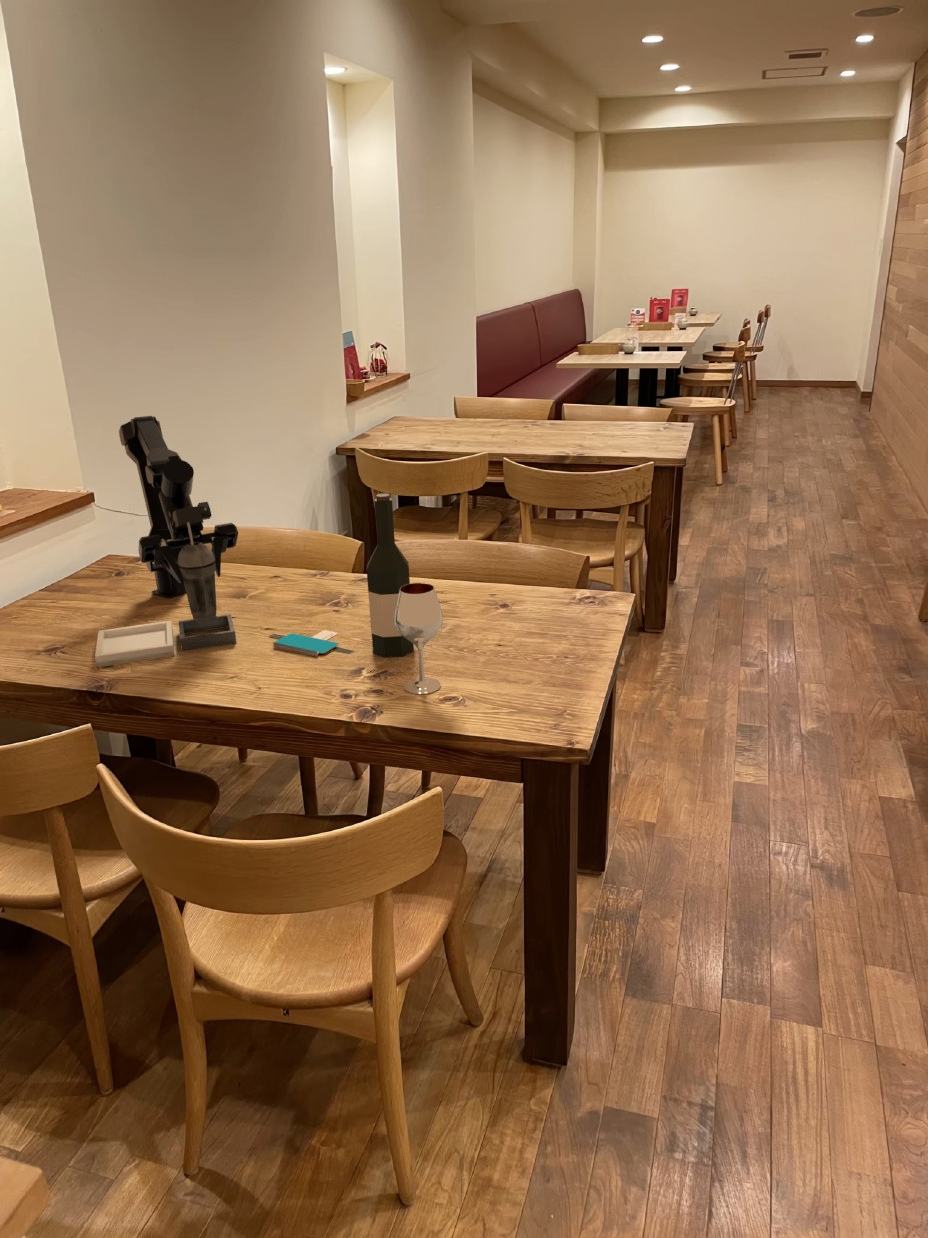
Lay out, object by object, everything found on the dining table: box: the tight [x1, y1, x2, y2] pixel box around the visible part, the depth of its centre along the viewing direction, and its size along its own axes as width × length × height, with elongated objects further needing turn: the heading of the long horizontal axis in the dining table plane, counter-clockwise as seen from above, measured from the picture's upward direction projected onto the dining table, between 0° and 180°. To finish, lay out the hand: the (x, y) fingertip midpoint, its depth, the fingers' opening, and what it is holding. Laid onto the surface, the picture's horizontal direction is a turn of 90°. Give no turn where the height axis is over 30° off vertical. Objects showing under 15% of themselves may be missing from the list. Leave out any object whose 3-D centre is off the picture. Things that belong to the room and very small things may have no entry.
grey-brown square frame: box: [178, 613, 237, 652], centre depth 180 cm, size 10×10×2 cm
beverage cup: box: [178, 522, 218, 622], centre depth 175 cm, size 7×7×20 cm
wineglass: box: [394, 582, 444, 695], centre depth 152 cm, size 8×8×18 cm
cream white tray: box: [94, 620, 175, 668], centre depth 176 cm, size 14×14×2 cm
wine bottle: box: [366, 493, 415, 659], centre depth 166 cm, size 8×8×30 cm
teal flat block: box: [269, 629, 354, 657], centre depth 176 cm, size 20×12×2 cm, turn 60°
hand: (200, 579), depth 174 cm, fingers closed on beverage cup, 7 cm apart
